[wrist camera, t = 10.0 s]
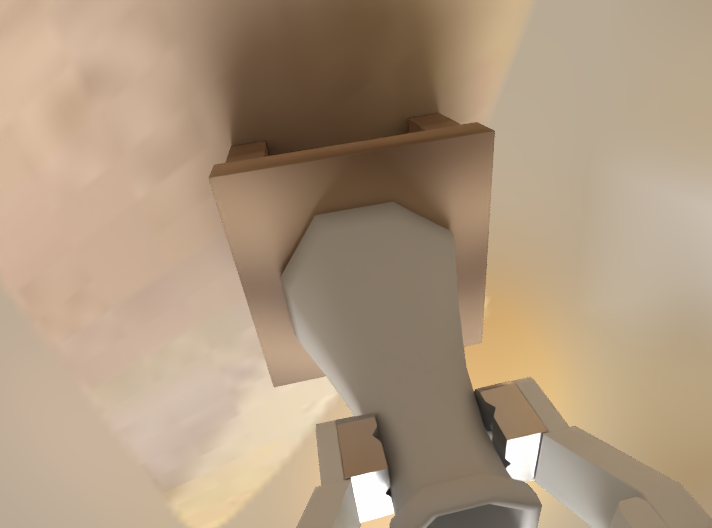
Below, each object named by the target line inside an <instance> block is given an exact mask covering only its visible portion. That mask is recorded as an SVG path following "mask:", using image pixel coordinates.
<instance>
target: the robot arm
mask: <svg viewBox="0 0 712 528" xmlns="http://www.w3.org/2000/svg"><path fill="white" fill-rule="evenodd" d="M474 394H475V398H476V401H477V404H478V408H479V411H480V414H481V418H482V421H483V424H484V427H485V429H486V431H487V433H488V435H489V437H490V439H491V441H492V443H493V445H494V447H495V449H496V451H497V453H498V455H499V457H500V459H501V461H502V463H503V465H504V467H505V468H506V470H507V471H508V473H509V474H510V476H511V477H512V479H516V480H520V481H523V482H525V481H530V480H534V479H535V482H536V483H537V484H539V485H540V486H541V487H542V488H543V489H545V490H546V491H547V492H549V493H550V494H551V495H553V497H555V498H556V499H557V500H558V501H560V502H561V503H562V504H564V505H565V506H566V507H567V508H569V509H570V510H571V511H572V512H574V513H575V514H576V515H577V516H579V517H580V518H581V519H582V520H583V521H585V522H586V523H587V524H589V525H590V526H591V527H592V528H712V518H711V517H710V516H709V515H708V514H707V513H706V512H705V510H704V509H703V508H702V507H701V506H700V505H699V504H698V503H697V501H696V500H695V499H694V498H693V497H692V496H691V495H690V494H689V492H688V491H687V490H686V489H685V488H684V487H683V486H682V485H681V484H680V483H678V482H676V481H674V480H672V479H671V478H669V477H667V476H665V475H664V474H662V473H660V472H658V471H656V470H654V469H653V468H651V467H649V466H647V465H645V464H644V463H642V462H640V461H638V460H636V459H634V458H632V457H631V456H629V455H627V454H625V453H624V452H622V451H620V450H618V449H616V448H614V447H613V446H611V445H609V444H607V443H605V442H603V441H602V440H599V439H598V438H596V437H594V436H593V435H591V434H589V433H587V432H585V431H584V430H582V429H580V428H578V427H576V426H572V427H569V426H568V424H567V423H566V422H565V420H564V419H563V418H562V416H561V415H560V414H559V412H558V411H557V410H556V408H555V407H554V406H553V404H552V403H551V402H550V400H549V399H548V398H547V396H546V395H545V394H544V392H543V391H542V390H541V388H540V387H539V386H538V384H537V383H536V382H535V380H534V379H532V378H531V377H527V378H523V379H518V380H514V381H508V382H504V383H499V384H495V385H491V386H487V387H482V388H478V389H475V391H474ZM316 437H317V447H318V456H319V467H320V475H321V486H318V487H316V488H315V489H314V492H313V494H312V496H311V498H310V500H309V502H308V504H307V506H306V508H305V510H304V513H303V515H302V517H301V519H300V521H299V523H298V525H297V527H296V528H360V526H361V523H360V522H363V521H366V520H370V519H374V518H377V517H381V516H385V515H388V514H392V513H394V512H393V503H392V496H391V492H390V488H389V487H390V480H389V473H388V467H387V463H386V459H385V455H384V451H383V447H382V443H381V442H380V441H379V435H378V428H377V424H376V420H375V416H374V413H369V414H364V415H359V416H354V417H349V418H344V419H338V420H336V421H335V420H334V421H329V422H324V423H319V424H316Z"/></svg>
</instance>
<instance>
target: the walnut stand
mask: <svg viewBox="0 0 712 528" xmlns="http://www.w3.org/2000/svg"><path fill="white" fill-rule="evenodd" d="M494 135H495V131H494V130H492V129H490V128H488V127H486V126H484V125H481V124H479V123H477V122H475V123H469V124H463V125H460V124H459V123H457V122H455V121H453V120H451V119H449V118H447V117H445V116H444V115H442V114H440V113H437V114H431V115H425V116H419V117H412V118H408V134H402V135H395V136H389V137H383V138H377V139H371V140H365V141H358V142H352V143H346V144H340V145H334V146H328V147H321V148H315V149H309V150H303V151H297V152H291V153H284V154H278V155H272V156H269V155H268V150H267V146H266V141H261V142H255V143H249V144H242V145H236V146H231V148H230V151H229V154H228V157H227V160H226V163H223V164H217V165H214V166H213V169H212V171H211V174H210V176H209V181H210V184H211V187H212V191H213V194H214V197H215V200H216V203H217V207H218V210H219V213H220V216H221V219H222V223H223V226H224V229H225V232H226V235H227V239H228V242H229V245H230V248H231V251H232V255H233V258H234V261H235V264H236V267H237V271H238V274H239V277H240V280H241V283H242V287H243V290H244V293H245V296H246V299H247V303H248V306H249V309H250V312H251V315H252V319H253V322H254V325H255V328H256V331H257V335H258V338H259V341H260V344H261V347H262V351H263V354H264V357H265V360H266V363H267V367H268V370H269V373H270V376H271V379H272V383H273V386H274V387H277V386H282V385H287V384H291V383H296V382H301V381H306V380H310V379H315V378H320V377H324V376H326V375H325V374H324V373H323V371H322V370H321V369H320V368H319V366H318V365H317V364H316V363H315V361H314V360H313V359H312V357H311V356H310V355H309V354H308V352H307V351H306V350H305V349H304V347H303V346H302V345H301V343H300V342H299V340H298V339H297V338H296V336H295V335H294V331H293V327H292V323H291V319H290V315H289V311H288V307H287V303H286V299H285V295H284V291H283V287H282V283H281V279H280V277H281V275H282V274H283V272H284V270H285V268H286V266H287V265H288V263H289V261H290V259H291V257H292V256H293V254H294V252H295V250H296V248H297V247H298V245H299V243H300V241H301V239H302V238H303V236H304V234H305V232H306V230H307V229H308V227H309V225H310V223H311V221H312V220H313V218H314V216H315V215H319V214H325V213H331V212H336V211H342V210H348V209H353V208H359V207H365V206H370V205H376V204H382V203H387V202H395V203H397V204H399V205H401V206H403V207H405V208H406V209H408V210H410V211H412V212H414V213H416V214H418V215H420V216H422V217H424V218H426V219H428V220H430V221H432V222H434V223H436V224H438V225H440V226H442V227H443V228H445V229H447V230H449V231H451V232H453V237H454V246H455V259H456V274H457V289H458V301H459V310H460V318H461V327H462V335H463V344H464V347H465V346H470V345H475V344H479V343H482V334H483V318H484V301H485V284H486V268H487V252H488V234H489V218H490V201H491V185H492V168H493V152H494Z"/></svg>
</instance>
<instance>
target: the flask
mask: <svg viewBox="0 0 712 528" xmlns="http://www.w3.org/2000/svg"><path fill="white" fill-rule="evenodd" d="M280 279H281V283H282V287H283V291H284V295H285V299H286V303H287V307H288V311H289V315H290V319H291V323H292V327H293V331H294V335H295V336H296V338H297V339H298V340H299V342H300V343H301V345H302V346H303V347H304V349H305V350H306V351H307V352H308V354H309V355H310V356H311V357H312V359H313V360H314V361H315V363H316V364H317V365H318V366H319V368H320V369H321V370H322V371H323V373H324V374H325V375H326V376H327V378H328V379H329V381H330V382H331V384H332V385H333V386H334V388H335V389H336V391H337V392H338V394H339V395H340V396H341V398H342V399H343V401H344V402H345V403H346V405H347V406H348V408H349V409H350V411H351V412H352V414H353V415H354V416H359V415H364V414H369V413H374V416H375V420H376V424H377V428H378V435H379V441H380V442H381V443H382V447H383V451H384V455H385V459H386V463H387V467H388V473H389V480H390V487H389V488H390V492H391V496H392V503H393V509H394V513H395V516H394V517H393V518H392V519H391V522H390V528H537V526H538V521H539V516H540V512H541V507H542V504H541V502H540V500H539V498H538V496H537V494H536V493H535V492H534V491H533V490H532V488H531V487H530V486H529V485H528V484H527V483H525V482H523V481H520V480H516V479H512V477H511V476H510V474H509V473H508V471H507V470H506V468H505V467H504V465H503V463H502V461H501V459H500V457H499V455H498V453H497V451H496V449H495V447H494V445H493V443H492V441H491V439H490V437H489V435H488V433H487V431H486V429H485V427H484V424H483V421H482V418H481V414H480V411H479V408H478V404H477V401H476V398H475V394H474V391H473V388H472V384H471V381H470V378H469V374H468V371H467V368H466V362H465V353H464V344H463V335H462V327H461V318H460V310H459V301H458V289H457V274H456V259H455V246H454V237H453V232H451V231H449V230H447V229H445V228H443V227H442V226H440V225H438V224H436V223H434V222H432V221H430V220H428V219H426V218H424V217H422V216H420V215H418V214H416V213H414V212H412V211H410V210H408V209H406V208H405V207H403V206H401V205H399V204H397V203H395V202H387V203H382V204H376V205H370V206H365V207H359V208H353V209H348V210H342V211H336V212H331V213H325V214H319V215H315V216H314V218H313V220H312V221H311V223H310V225H309V227H308V229H307V230H306V232H305V234H304V236H303V238H302V239H301V241H300V243H299V245H298V247H297V248H296V250H295V252H294V254H293V256H292V257H291V259H290V261H289V263H288V265H287V266H286V268H285V270H284V272H283V274H282V275H281V277H280Z"/></svg>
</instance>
